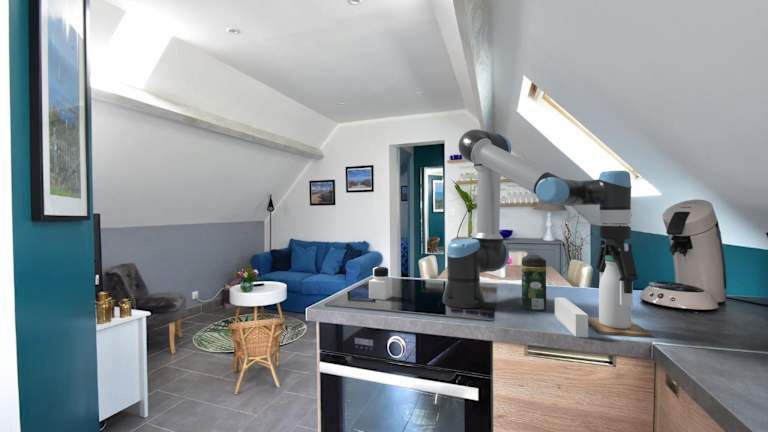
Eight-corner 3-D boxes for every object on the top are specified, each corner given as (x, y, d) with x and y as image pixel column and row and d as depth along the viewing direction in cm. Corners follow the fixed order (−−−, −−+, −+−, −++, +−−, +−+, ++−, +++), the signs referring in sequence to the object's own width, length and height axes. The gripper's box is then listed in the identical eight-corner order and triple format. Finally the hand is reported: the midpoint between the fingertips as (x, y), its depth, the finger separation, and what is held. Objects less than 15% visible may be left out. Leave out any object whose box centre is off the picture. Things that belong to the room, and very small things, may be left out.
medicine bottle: (392, 296, 140) (392, 266, 140) (385, 300, 134) (385, 269, 134) (376, 294, 143) (376, 265, 143) (368, 298, 137) (368, 268, 137)
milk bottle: (635, 330, 95) (634, 257, 95) (602, 327, 98) (602, 256, 98) (626, 322, 102) (626, 254, 103) (596, 320, 105) (596, 253, 105)
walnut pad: (599, 334, 95) (599, 331, 95) (582, 320, 108) (582, 317, 108) (653, 337, 92) (653, 334, 92) (629, 322, 105) (629, 320, 105)
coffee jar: (520, 303, 128) (520, 253, 128) (544, 305, 126) (544, 254, 126) (522, 310, 119) (522, 256, 119) (548, 312, 116) (547, 257, 117)
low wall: (575, 336, 93) (575, 314, 93) (554, 315, 113) (554, 297, 113) (588, 337, 92) (588, 314, 92) (564, 316, 112) (564, 297, 112)
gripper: (654, 226, 87) (653, 311, 87) (610, 224, 112) (610, 290, 112) (620, 226, 89) (620, 309, 89) (584, 224, 113) (584, 289, 113)
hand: (614, 299), depth 100 cm, fingers open, 13 cm apart
